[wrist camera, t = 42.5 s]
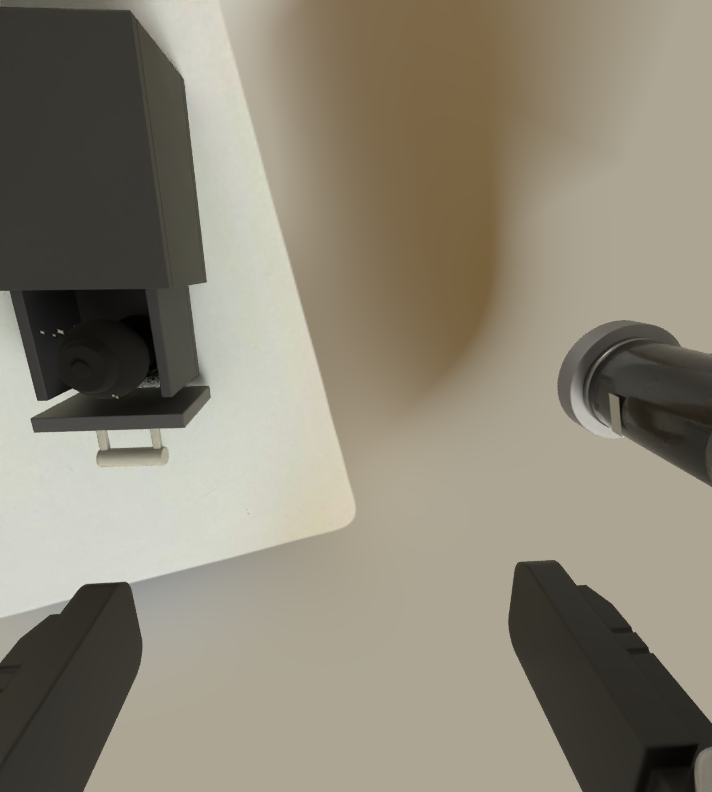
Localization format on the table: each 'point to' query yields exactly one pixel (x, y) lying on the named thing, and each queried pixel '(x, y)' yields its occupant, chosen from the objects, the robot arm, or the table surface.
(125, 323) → the gumball machine
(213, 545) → the table surface
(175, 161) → the grey drawer cabinet
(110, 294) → the open grey drawer
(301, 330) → the table surface
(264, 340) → the table surface
